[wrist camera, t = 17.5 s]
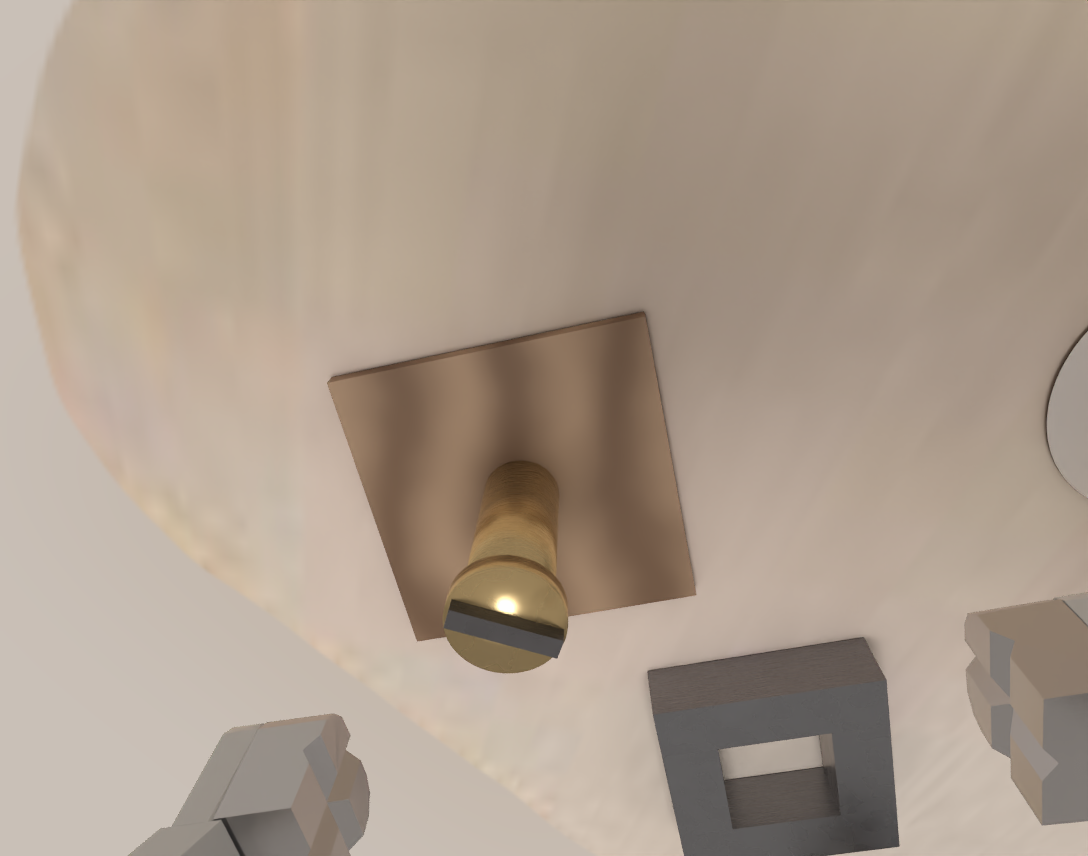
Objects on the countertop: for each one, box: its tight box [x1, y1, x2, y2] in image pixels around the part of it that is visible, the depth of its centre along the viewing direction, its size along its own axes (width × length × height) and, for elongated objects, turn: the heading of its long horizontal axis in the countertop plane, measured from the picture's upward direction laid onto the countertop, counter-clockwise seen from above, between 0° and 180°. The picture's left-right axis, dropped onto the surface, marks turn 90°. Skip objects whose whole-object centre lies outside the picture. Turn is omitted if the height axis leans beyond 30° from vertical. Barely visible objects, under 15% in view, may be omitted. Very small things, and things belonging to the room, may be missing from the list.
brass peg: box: [443, 461, 568, 673], centre depth 40 cm, size 6×6×13 cm
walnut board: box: [327, 312, 696, 641], centre depth 47 cm, size 18×18×1 cm
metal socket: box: [648, 638, 899, 856], centre depth 52 cm, size 14×14×4 cm
